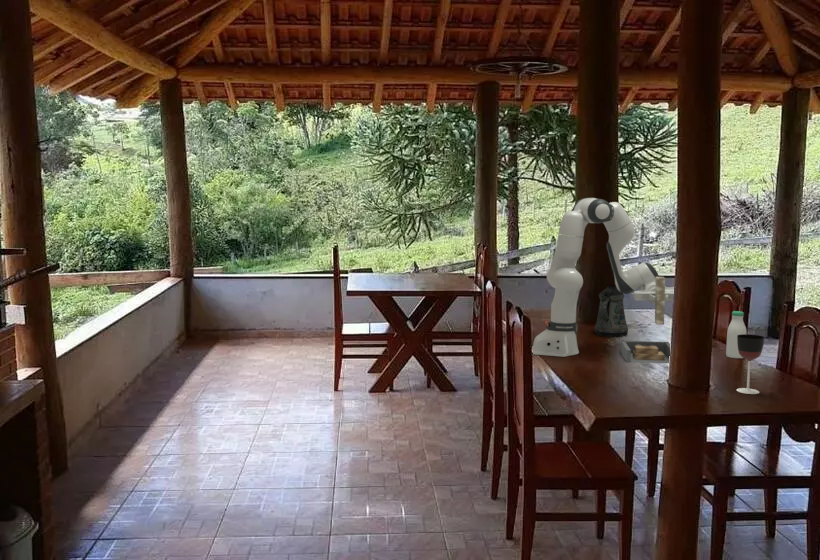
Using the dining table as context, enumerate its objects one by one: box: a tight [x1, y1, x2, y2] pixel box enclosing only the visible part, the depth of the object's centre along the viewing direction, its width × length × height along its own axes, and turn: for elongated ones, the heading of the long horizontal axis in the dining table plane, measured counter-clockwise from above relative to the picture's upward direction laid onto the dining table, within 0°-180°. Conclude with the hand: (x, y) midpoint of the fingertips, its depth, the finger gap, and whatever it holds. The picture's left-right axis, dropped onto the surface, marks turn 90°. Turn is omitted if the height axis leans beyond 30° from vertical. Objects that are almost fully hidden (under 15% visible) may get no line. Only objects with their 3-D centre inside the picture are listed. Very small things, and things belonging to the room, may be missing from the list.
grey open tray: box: [620, 340, 671, 364], centre depth 296 cm, size 20×20×6 cm
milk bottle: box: [725, 310, 748, 359], centre depth 302 cm, size 8×8×20 cm
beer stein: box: [594, 285, 629, 338], centre depth 351 cm, size 16×19×25 cm
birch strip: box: [654, 276, 666, 326], centre depth 297 cm, size 3×5×20 cm, turn 170°
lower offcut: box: [633, 351, 665, 360], centre depth 295 cm, size 12×6×2 cm, turn 80°
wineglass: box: [736, 334, 765, 395], centre depth 249 cm, size 8×9×20 cm
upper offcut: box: [634, 346, 658, 354], centre depth 295 cm, size 9×5×2 cm, turn 80°
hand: (660, 298), depth 296 cm, fingers closed on birch strip, 3 cm apart
